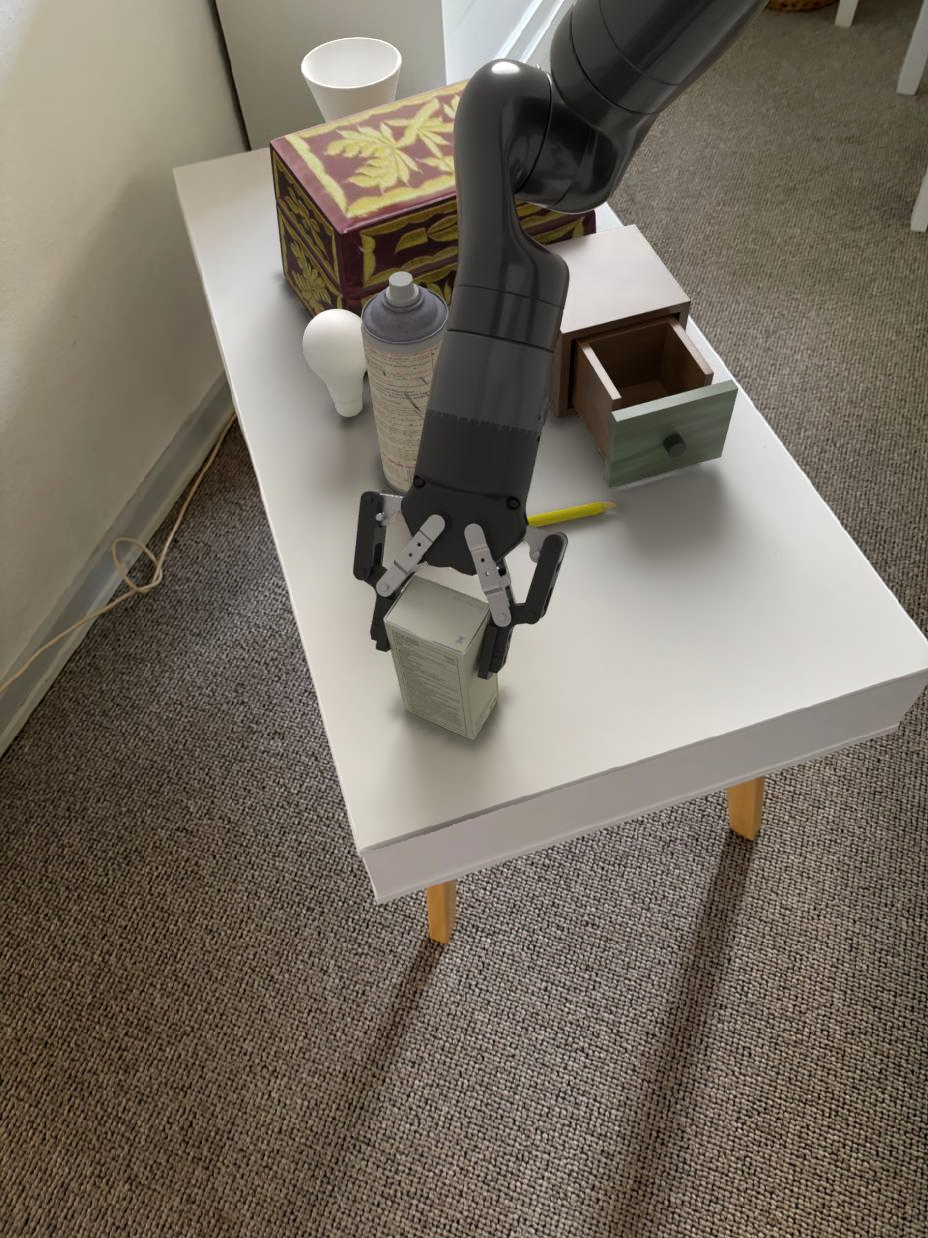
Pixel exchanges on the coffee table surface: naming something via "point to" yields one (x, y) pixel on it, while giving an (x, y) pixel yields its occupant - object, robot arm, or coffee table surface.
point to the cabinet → (609, 296)
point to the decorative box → (381, 203)
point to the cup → (352, 75)
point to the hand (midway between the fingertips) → (434, 662)
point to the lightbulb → (338, 357)
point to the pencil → (569, 513)
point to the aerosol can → (401, 369)
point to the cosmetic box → (441, 655)
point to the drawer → (649, 400)
